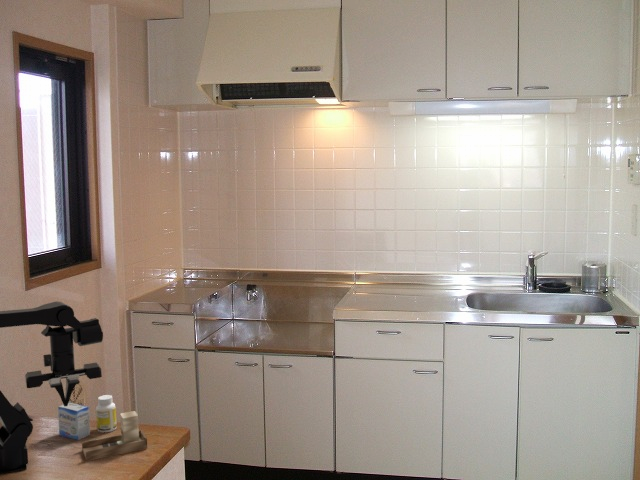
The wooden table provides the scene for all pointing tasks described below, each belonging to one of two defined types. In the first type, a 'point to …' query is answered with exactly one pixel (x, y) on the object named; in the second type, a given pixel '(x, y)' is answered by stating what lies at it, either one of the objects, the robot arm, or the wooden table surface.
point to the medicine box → (74, 421)
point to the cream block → (129, 427)
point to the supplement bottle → (106, 414)
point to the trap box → (112, 446)
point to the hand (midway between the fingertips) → (65, 405)
